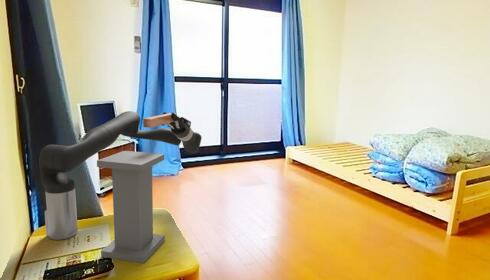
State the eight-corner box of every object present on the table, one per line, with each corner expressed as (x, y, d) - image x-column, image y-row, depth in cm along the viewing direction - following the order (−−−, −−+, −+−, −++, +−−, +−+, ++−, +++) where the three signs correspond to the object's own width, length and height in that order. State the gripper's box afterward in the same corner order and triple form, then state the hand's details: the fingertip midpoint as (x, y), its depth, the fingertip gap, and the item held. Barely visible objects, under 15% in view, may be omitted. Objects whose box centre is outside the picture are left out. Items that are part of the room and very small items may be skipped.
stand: (101, 256, 102) (96, 160, 97) (126, 235, 117) (124, 150, 111) (143, 263, 100) (141, 164, 94) (164, 240, 114) (164, 154, 108)
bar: (143, 127, 111) (143, 118, 111) (169, 120, 132) (169, 113, 132) (151, 127, 111) (151, 119, 110) (176, 120, 132) (176, 113, 131)
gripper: (169, 121, 145) (153, 105, 129) (198, 123, 143) (186, 106, 127) (165, 137, 143) (149, 121, 127) (195, 139, 140) (182, 124, 124)
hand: (168, 114), depth 127 cm, fingers closed on bar, 3 cm apart
